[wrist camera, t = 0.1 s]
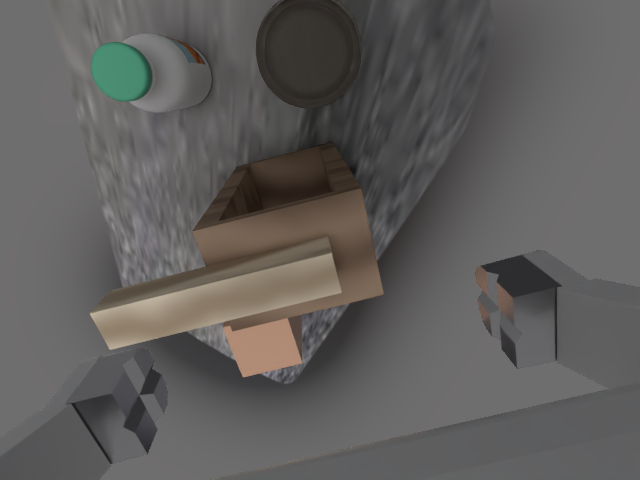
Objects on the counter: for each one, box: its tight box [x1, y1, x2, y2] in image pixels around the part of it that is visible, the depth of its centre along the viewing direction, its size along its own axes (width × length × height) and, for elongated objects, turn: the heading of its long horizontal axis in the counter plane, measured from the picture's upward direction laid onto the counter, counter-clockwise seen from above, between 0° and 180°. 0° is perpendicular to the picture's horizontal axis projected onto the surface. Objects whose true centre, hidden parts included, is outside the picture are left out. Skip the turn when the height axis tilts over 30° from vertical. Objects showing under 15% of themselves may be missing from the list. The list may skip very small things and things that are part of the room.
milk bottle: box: [91, 33, 212, 113], centre depth 42 cm, size 8×8×20 cm
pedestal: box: [223, 315, 302, 377], centre depth 56 cm, size 8×8×15 cm
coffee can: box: [256, 0, 362, 108], centre depth 44 cm, size 10×10×14 cm
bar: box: [90, 236, 342, 350], centre depth 32 cm, size 4×19×4 cm, turn 104°
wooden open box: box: [192, 142, 384, 332], centre depth 45 cm, size 10×14×26 cm
